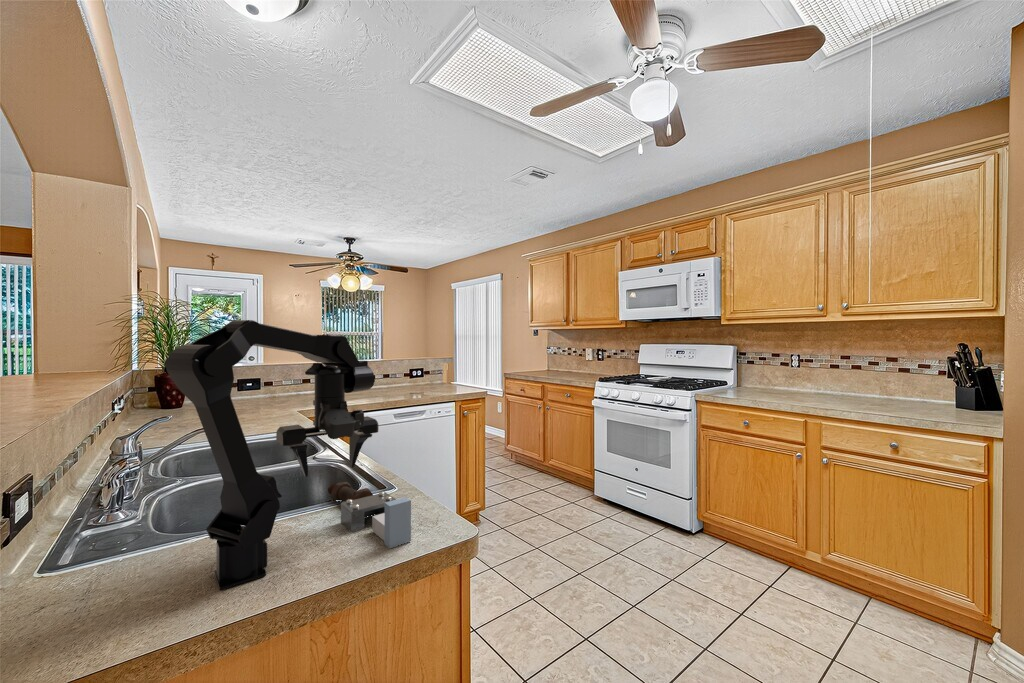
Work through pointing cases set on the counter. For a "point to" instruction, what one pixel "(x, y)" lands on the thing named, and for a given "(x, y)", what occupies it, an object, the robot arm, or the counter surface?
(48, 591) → the counter surface
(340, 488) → the brown lumpy shape
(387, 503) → the handle
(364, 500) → the housing
